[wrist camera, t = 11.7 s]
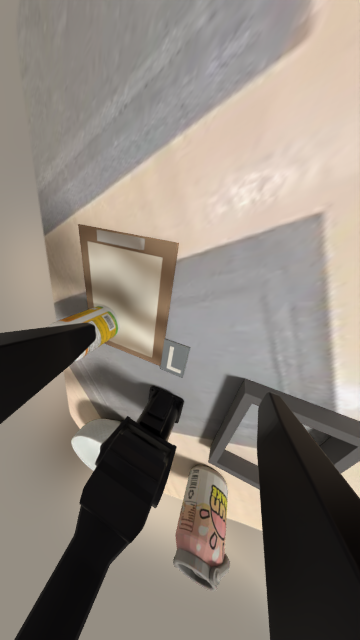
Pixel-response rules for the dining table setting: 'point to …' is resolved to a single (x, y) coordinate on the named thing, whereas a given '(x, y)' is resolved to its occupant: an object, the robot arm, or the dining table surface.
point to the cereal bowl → (92, 439)
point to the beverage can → (203, 528)
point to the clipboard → (130, 286)
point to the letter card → (174, 357)
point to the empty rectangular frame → (346, 434)
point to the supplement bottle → (102, 321)
